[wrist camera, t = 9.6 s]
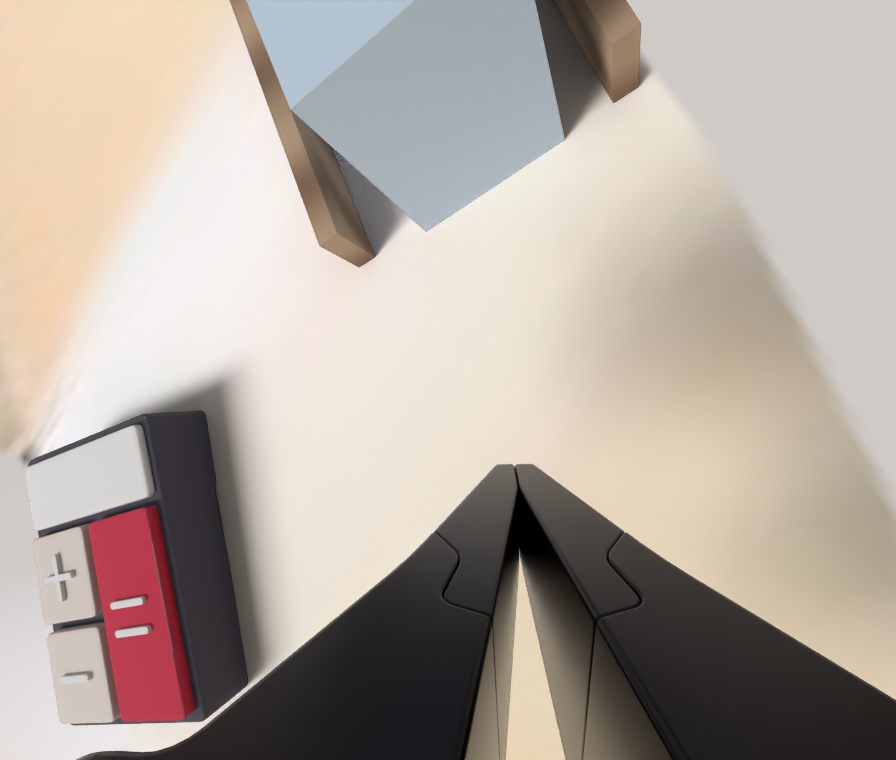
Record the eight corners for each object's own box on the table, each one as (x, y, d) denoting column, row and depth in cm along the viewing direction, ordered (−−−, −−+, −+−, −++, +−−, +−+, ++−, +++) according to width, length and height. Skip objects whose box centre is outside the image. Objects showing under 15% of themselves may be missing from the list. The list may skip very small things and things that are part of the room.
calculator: (50, 737, 23) (8, 463, 25) (134, 685, 27) (93, 452, 29) (191, 736, 19) (130, 412, 21) (264, 675, 23) (208, 408, 25)
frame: (638, 87, 17) (640, 23, 14) (358, 267, 21) (319, 246, 19) (460, -203, 21) (435, -297, 18) (256, 0, 25) (211, -50, 22)
